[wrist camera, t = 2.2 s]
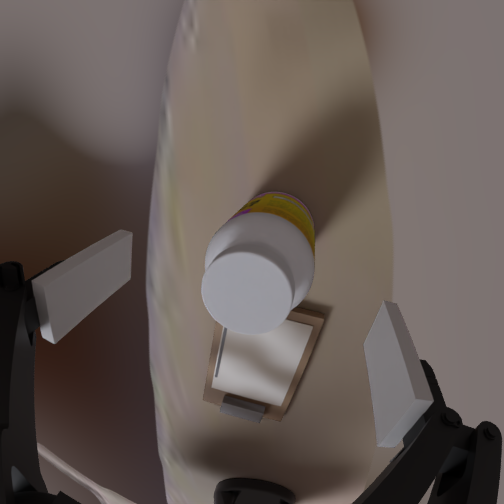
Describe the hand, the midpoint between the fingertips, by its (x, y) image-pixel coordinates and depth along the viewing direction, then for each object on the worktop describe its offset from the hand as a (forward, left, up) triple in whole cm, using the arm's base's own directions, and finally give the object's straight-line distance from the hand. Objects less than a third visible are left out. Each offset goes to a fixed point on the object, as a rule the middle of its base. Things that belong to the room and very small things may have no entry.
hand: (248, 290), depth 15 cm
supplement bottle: (0, 0, -13) cm, 13 cm away
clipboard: (-15, -1, -13) cm, 20 cm away
